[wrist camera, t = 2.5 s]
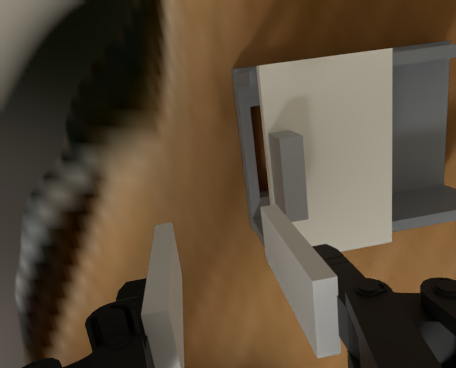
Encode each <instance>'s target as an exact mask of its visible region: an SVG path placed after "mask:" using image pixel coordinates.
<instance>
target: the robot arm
mask: <svg viewBox="0 0 456 368" xmlns="http://www.w3.org/2000/svg"><path fill="white" fill-rule="evenodd" d="M260 208H261V217H262V226H263V235H264V244H265V254H266V260H267V262H268V264H269V266H270V267H271V269H272V271H273V273H274V275H275V277H276V279H277V281H278V283H279V285H280V287H281V289H282V291H283V293H284V295H285V296H286V298H287V300H288V302H289V304H290V306H291V308H292V310H293V312H294V314H295V316H296V318H297V320H298V322H299V324H300V325H301V327H302V329H303V331H304V333H305V335H306V337H307V339H308V341H309V343H310V345H311V347H312V349H313V351H314V352H315V354H316V356H317V358H322V357H327V356H332V355H336V354H341V343H340V338H341V340H342V341H343V343H344V344H345V346H346V348H347V350H348V368H456V280H452V279H449V278H430V279H427V280H425V281H423V282H422V284H421V285H420V293H396V292H393V291H392V289H391V288H390V287H389V286H388V285H387V284H385V283H383V282H381V281H379V280H375V279H371V278H365V277H364V276H363V275H362V274H361V273H360V272H359V271H358V270H357V269H356V268H355V267H354V265H353V264H352V263H351V262H349V260H348V259H347V258H346V257H344V256H343V254H342V253H341V252H340V251H339V250H338V249H337V248H334V247H332V246H330V245H328V244H322V245H317V246H311V245H310V244H309V242H308V241H307V240H306V239H305V238H304V236H303V235H302V234H301V233H300V232H299V231H298V229H297V228H296V227H295V226H294V225H293V223H292V222H291V221H290V220H289V219H288V218H287V216H286V215H285V214H284V213H283V212H282V210H281V209H280V208H279V207H278V206H277V205H276V204H274V205H268V206H262V207H260ZM85 327H86V330H87V333H88V337H89V340H90V344H91V347H92V353H91V354H90V355H88V356H87V357H85V358H83V359H81V360H79V361H77V362H75V363H72V364H70V365H68V366H65V367H63V368H184V336H183V295H182V272H181V267H180V262H179V256H178V251H177V246H176V240H175V235H174V230H173V224H172V222H170V223H164V224H158V225H155V230H154V237H153V243H152V249H151V255H150V262H149V268H148V274H147V278H146V279H140V280H135V281H130V282H126V283H125V284H124V285H123V286H122V288H121V289H120V290H119V291H118V295H117V298H116V302H113V303H109V304H107V305H104V306H102V307H100V308H98V309H97V310H95V311H94V312H92V314H91V315H90V316H89V317H88V318H87V320H86V323H85ZM22 368H62V365H61V363H60V361H59V360H57V359H54V358H43V359H40V360H37V361H33V362H32V363H30V364H27V365H26V366H24V367H22Z"/></svg>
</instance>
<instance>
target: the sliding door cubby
mask: <svg viewBox="0 0 456 368" xmlns="http://www.w3.org/2000/svg"><path fill="white" fill-rule="evenodd" d="M450 42H451V40H449V41H441V42H434V43H426V44H419V45H411V46H404V47H396V48H393V49H392V232H396V231H401V230H406V229H412V228H417V227H423V226H428V225H433V224H439V223H444V222H449V221H455V220H456V189H454V188H451V187H449V186H446V185H444V169H445V148H446V127H447V106H448V84H449V63H450V58H456V44H452V45H450ZM232 78H233V86H234V95H235V103H236V111H237V120H238V128H239V136H240V144H241V153H242V161H243V169H244V178H245V186H246V194H247V202H248V211H249V219H250V225H251V227H252V229H253V231H254V232H256V233H257V235H258V237H259V238H260V240H261V242H262V244H263V246H264V248H265V244H264V235H263V226H262V217H261V208H260V207H262V206H268V205H270V198H269V190H267V191H261V192H259V184H258V175H257V166H256V157H255V147H254V138H253V129H252V120H251V111H250V107H253V106H260V100H259V90H258V80H257V70H256V66H252V67H245V68H237V69H233V70H232Z"/></svg>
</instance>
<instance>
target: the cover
mask: <svg viewBox="0 0 456 368" xmlns="http://www.w3.org/2000/svg"><path fill="white" fill-rule="evenodd" d="M392 49H393V48H388V49H380V50H372V51H365V52H357V53H350V54H342V55H335V56H327V57H319V58H312V59H304V60H297V61H289V62H282V63H274V64H267V65H259V66H256V70H257V80H258V90H259V100H260V109H261V119H262V129H263V139H264V149H265V159H266V169H267V178H268V188H269V198H270V205H274V204H276V205H277V206H278V207H279V208H280V209H281V210H282V212H283V213H284V214H285V215H286V216H287V218H288V219H289V220H290V221H291V222H292V223H293V225H294V226H295V227H296V228H297V229H298V231H299V232H300V233H301V234H302V235H303V236H304V238H305V239H306V240H307V241H308V242H309V244H310V245H311V246H317V245H322V244H328V245H330V246H332V247H334V248H337V249H338V250H339V251H340V252H342V251H347V250H352V249H357V248H363V247H368V246H373V245H378V244H384V243H389V242H392Z"/></svg>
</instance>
